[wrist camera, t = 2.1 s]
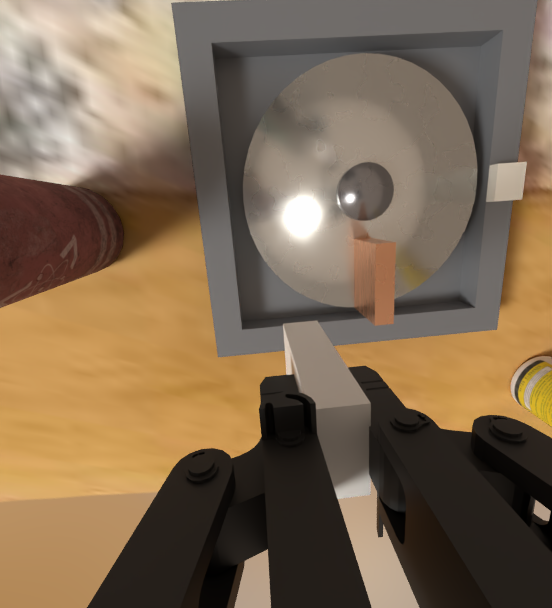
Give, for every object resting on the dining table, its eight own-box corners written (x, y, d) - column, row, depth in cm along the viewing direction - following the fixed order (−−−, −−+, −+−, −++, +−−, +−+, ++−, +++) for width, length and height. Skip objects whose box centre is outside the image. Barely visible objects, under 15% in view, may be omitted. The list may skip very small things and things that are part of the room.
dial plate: (182, 31, 21) (168, -7, 17) (501, 18, 22) (550, -21, 19) (221, 342, 27) (217, 361, 23) (471, 317, 28) (504, 333, 25)
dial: (231, 73, 21) (224, 19, 15) (468, 61, 22) (547, 6, 16) (253, 309, 25) (255, 337, 19) (450, 291, 26) (507, 312, 20)
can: (130, 194, 24) (-29, 166, 10) (122, 278, 25) (-25, 351, 12) (41, 174, 23) (-260, 116, 9) (39, 262, 24) (-222, 322, 11)
